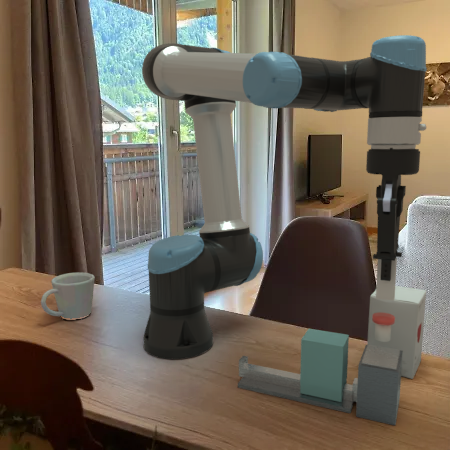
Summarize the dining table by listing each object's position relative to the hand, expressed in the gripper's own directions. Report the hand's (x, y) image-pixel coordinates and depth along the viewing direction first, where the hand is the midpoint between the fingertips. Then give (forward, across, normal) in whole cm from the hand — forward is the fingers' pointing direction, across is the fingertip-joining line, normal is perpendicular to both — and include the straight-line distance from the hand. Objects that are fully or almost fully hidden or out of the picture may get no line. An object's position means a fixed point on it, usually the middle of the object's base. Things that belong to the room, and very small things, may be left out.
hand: (385, 297), depth 74 cm
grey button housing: (+19, 0, 0) cm, 19 cm away
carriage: (+19, 0, +9) cm, 21 cm away
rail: (+19, 0, +14) cm, 24 cm away
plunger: (+7, 0, 0) cm, 7 cm away
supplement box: (+20, +17, -1) cm, 26 cm away
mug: (+19, +10, +76) cm, 79 cm away
